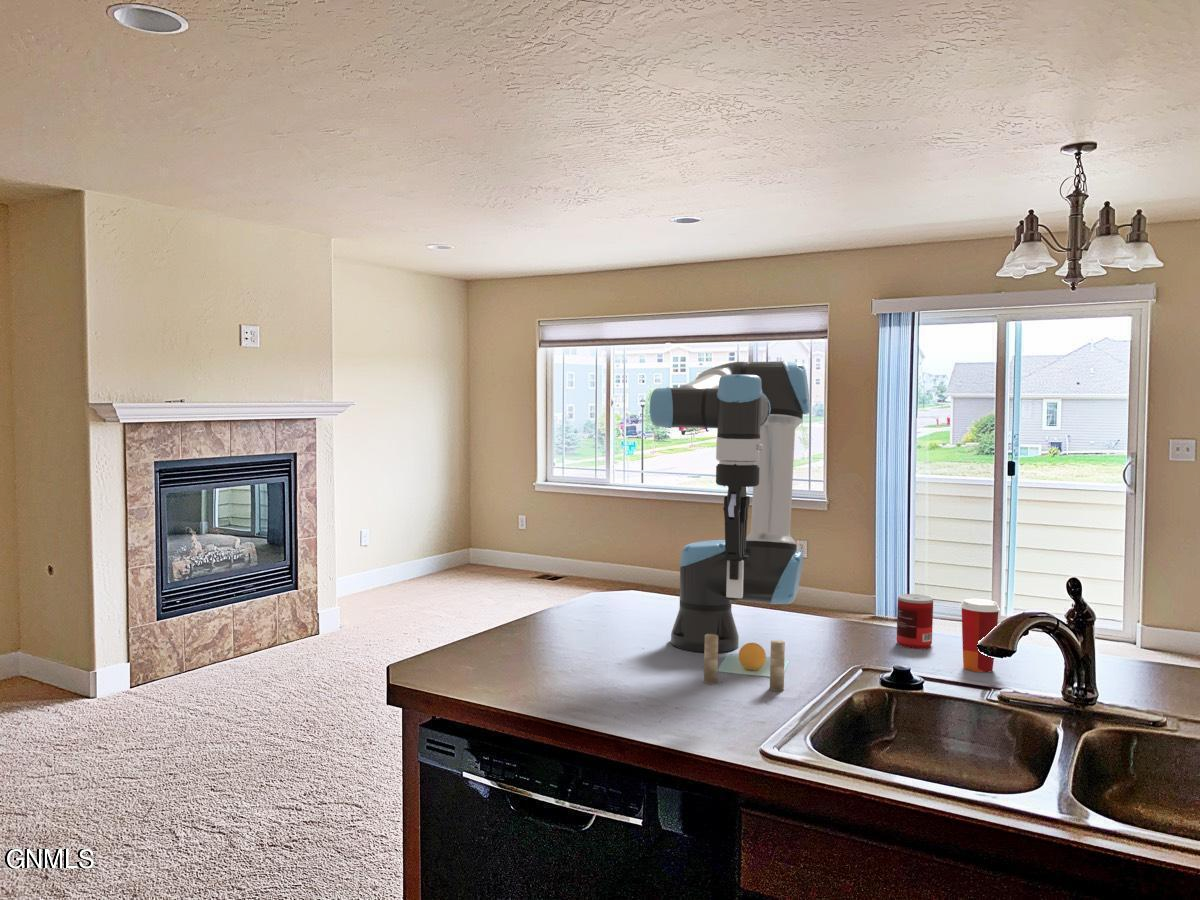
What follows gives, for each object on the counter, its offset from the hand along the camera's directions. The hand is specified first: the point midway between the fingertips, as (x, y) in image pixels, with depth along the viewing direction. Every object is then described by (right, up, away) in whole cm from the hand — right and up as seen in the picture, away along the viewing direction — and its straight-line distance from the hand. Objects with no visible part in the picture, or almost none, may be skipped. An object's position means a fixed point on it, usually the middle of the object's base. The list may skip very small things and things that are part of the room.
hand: (734, 596), depth 156 cm
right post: (+10, -19, +11) cm, 24 cm away
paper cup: (+55, -20, +28) cm, 65 cm away
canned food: (+48, -19, +47) cm, 70 cm away
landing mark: (+8, -19, +26) cm, 33 cm away
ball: (+7, -16, +24) cm, 29 cm away
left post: (-2, -19, +15) cm, 24 cm away
